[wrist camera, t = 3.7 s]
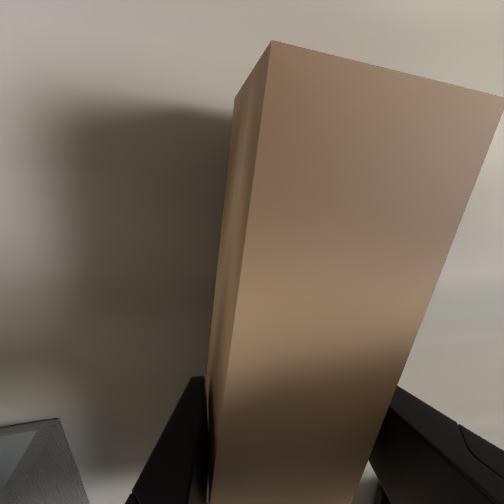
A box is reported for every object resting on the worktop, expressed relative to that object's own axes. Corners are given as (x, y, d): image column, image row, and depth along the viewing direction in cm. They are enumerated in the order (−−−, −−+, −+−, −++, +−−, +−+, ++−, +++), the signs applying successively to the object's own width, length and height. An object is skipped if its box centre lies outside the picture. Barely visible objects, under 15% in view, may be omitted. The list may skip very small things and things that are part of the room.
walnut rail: (278, 482, 13) (309, 611, 9) (193, 493, 12) (191, 639, 9) (367, 123, 8) (507, 97, 4) (234, 98, 7) (271, 40, 4)
